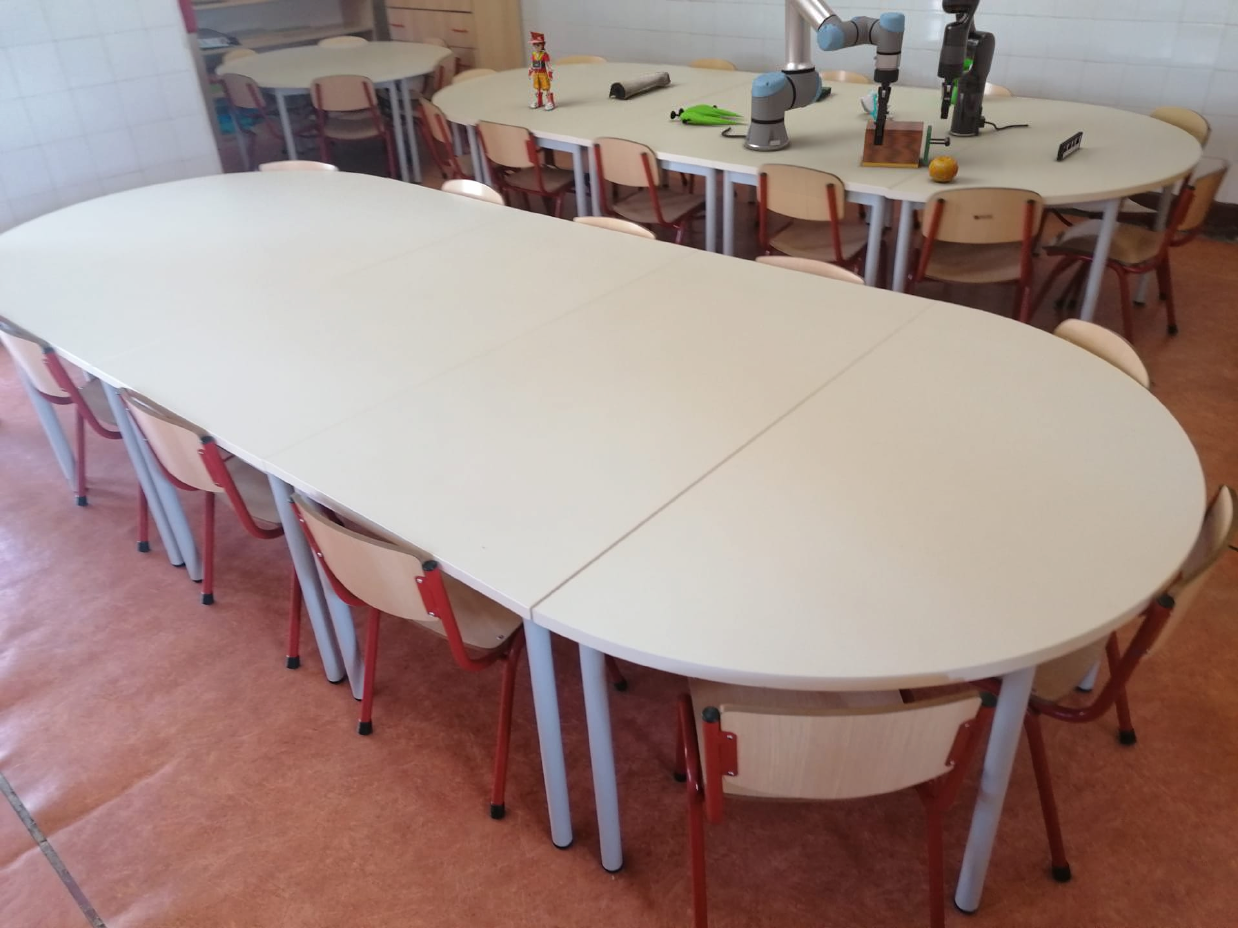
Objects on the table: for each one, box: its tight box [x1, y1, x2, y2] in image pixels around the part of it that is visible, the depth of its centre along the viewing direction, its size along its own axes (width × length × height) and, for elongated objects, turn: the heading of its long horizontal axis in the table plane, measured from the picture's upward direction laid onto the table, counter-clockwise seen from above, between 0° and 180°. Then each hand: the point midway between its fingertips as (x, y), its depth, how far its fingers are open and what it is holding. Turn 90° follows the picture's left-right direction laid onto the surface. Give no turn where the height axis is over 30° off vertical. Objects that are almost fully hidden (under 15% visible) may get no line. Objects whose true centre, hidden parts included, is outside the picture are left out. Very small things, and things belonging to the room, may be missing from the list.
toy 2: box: [669, 104, 746, 125], centre depth 349 cm, size 28×5×30 cm
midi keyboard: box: [1056, 131, 1084, 161], centre depth 291 cm, size 18×1×5 cm, turn 138°
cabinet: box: [861, 120, 925, 169], centre depth 293 cm, size 18×10×12 cm, turn 73°
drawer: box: [919, 125, 951, 165], centre depth 291 cm, size 23×9×10 cm, turn 73°
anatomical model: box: [860, 90, 895, 121], centre depth 340 cm, size 15×10×10 cm
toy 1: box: [527, 31, 556, 111], centre depth 374 cm, size 12×9×30 cm
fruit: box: [928, 155, 959, 183], centre depth 276 cm, size 8×8×8 cm
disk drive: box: [815, 86, 832, 102], centre depth 372 cm, size 10×3×15 cm
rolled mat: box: [608, 71, 672, 101], centre depth 395 cm, size 30×9×10 cm
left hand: (879, 140), depth 293 cm, fingers closed on cabinet, 10 cm apart
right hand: (943, 115), depth 284 cm, fingers open, 8 cm apart
